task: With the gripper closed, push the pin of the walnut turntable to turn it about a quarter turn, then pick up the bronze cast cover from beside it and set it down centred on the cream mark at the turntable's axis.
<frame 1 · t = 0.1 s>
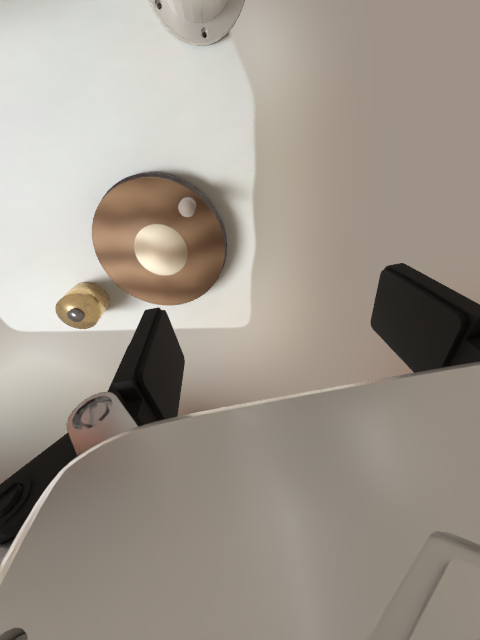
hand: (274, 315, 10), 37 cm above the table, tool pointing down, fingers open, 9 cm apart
turntable: (160, 252, 40), point 4 cm above the table, hinge at 0.0°
turntable base: (164, 245, 44), on the table
cast cover: (90, 297, 48), on the table
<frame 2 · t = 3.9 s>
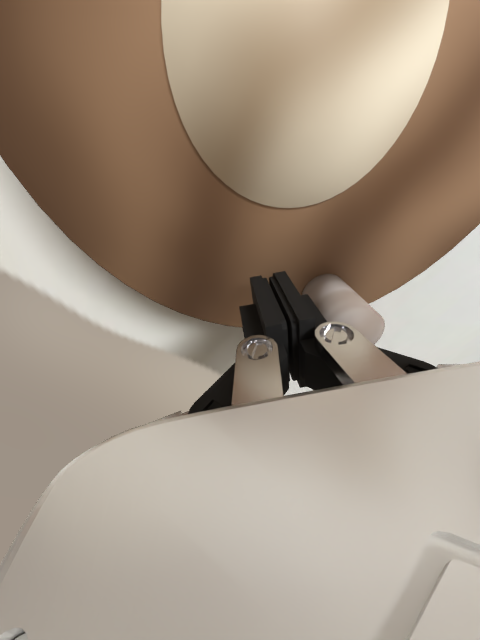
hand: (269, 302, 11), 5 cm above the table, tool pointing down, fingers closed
turntable: (313, 47, 7), point 4 cm above the table, hinge at 2.6°
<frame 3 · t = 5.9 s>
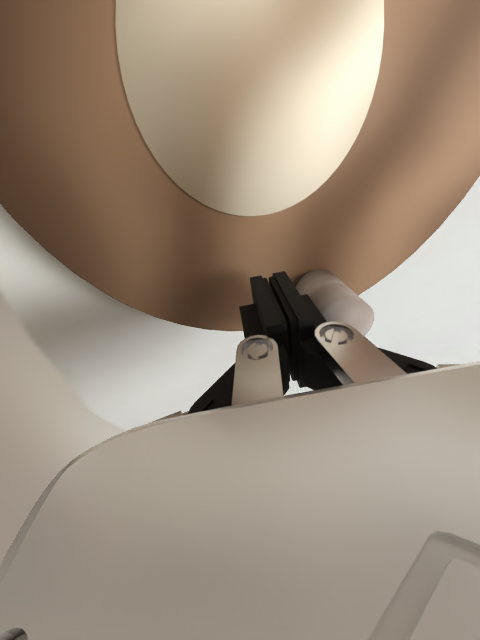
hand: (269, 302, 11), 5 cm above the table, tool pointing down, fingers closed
turntable: (258, 70, 8), point 4 cm above the table, hinge at 56.1°, touching gripper
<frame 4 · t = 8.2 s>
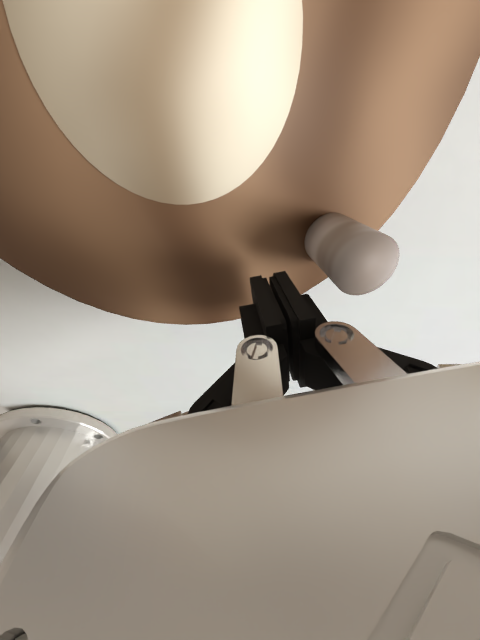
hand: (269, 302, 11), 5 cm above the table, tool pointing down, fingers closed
turntable: (160, 42, 7), point 4 cm above the table, hinge at 100.6°
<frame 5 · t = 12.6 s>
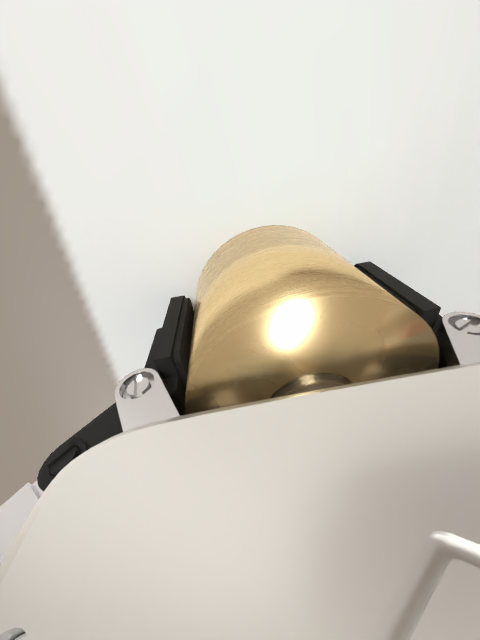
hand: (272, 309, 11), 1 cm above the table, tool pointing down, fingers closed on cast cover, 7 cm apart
cast cover: (268, 299, 12), on the table, touching gripper
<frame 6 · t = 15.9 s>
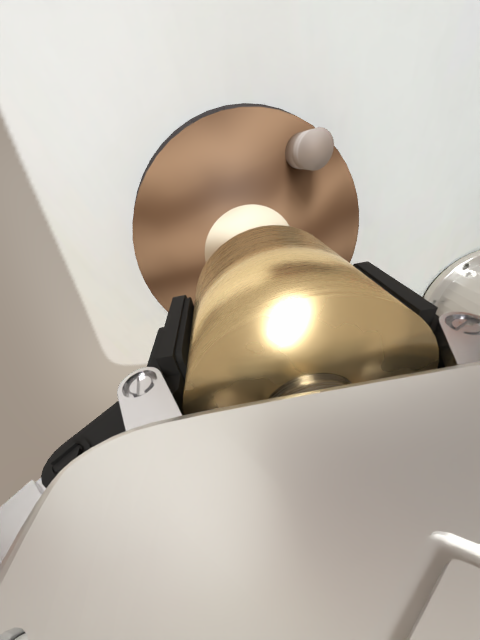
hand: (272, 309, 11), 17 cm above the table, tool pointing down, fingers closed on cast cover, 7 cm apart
turntable: (251, 256, 23), point 4 cm above the table, hinge at 100.6°
turntable base: (245, 243, 26), on the table
cast cover: (268, 299, 12), point 16 cm above the table, touching gripper
when the fingers open (6 cm above the table, at t = 19.0 s): cast cover drops 1 cm, resting on turntable.
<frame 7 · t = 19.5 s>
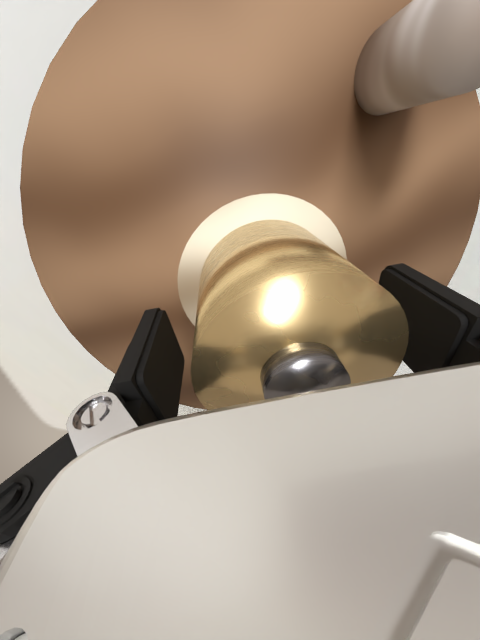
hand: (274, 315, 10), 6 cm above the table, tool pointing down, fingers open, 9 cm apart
turntable: (266, 294, 12), point 4 cm above the table, hinge at 100.6°, touching cast cover
cast cover: (265, 288, 13), point 4 cm above the table, touching turntable
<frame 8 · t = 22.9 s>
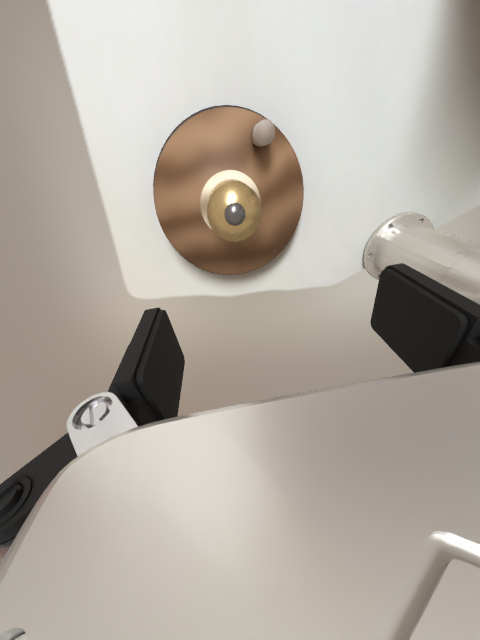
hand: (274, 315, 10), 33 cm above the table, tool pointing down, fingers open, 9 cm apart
turntable: (231, 206, 34), point 4 cm above the table, hinge at 100.6°, touching cast cover
cast cover: (231, 206, 35), point 4 cm above the table, touching turntable
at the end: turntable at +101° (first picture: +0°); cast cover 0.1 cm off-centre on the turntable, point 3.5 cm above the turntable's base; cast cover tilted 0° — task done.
